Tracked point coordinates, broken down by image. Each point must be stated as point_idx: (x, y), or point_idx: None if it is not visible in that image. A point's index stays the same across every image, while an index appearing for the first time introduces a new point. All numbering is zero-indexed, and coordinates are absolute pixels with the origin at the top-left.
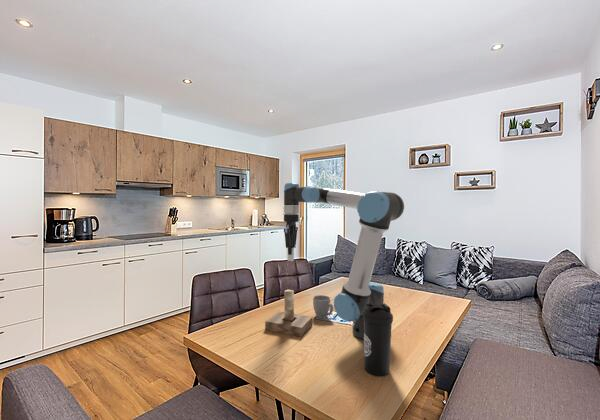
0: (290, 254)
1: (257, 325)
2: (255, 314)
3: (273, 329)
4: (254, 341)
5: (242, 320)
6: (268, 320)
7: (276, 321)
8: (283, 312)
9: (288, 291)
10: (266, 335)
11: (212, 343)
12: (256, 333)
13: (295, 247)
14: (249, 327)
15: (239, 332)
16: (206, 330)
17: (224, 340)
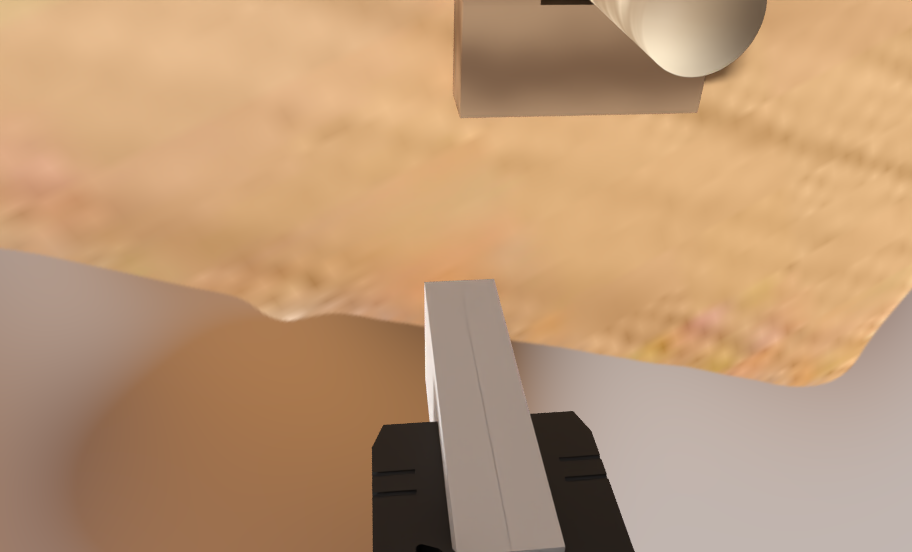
0: (577, 420)
1: (613, 173)
2: (435, 280)
3: None
4: (858, 64)
5: (563, 293)
6: (678, 97)
7: None
8: (471, 65)
9: (725, 15)
10: (759, 35)
11: (894, 255)
12: (739, 114)
13: (413, 542)
14: (657, 201)
15: (741, 213)
16: (745, 366)
17: (856, 225)
